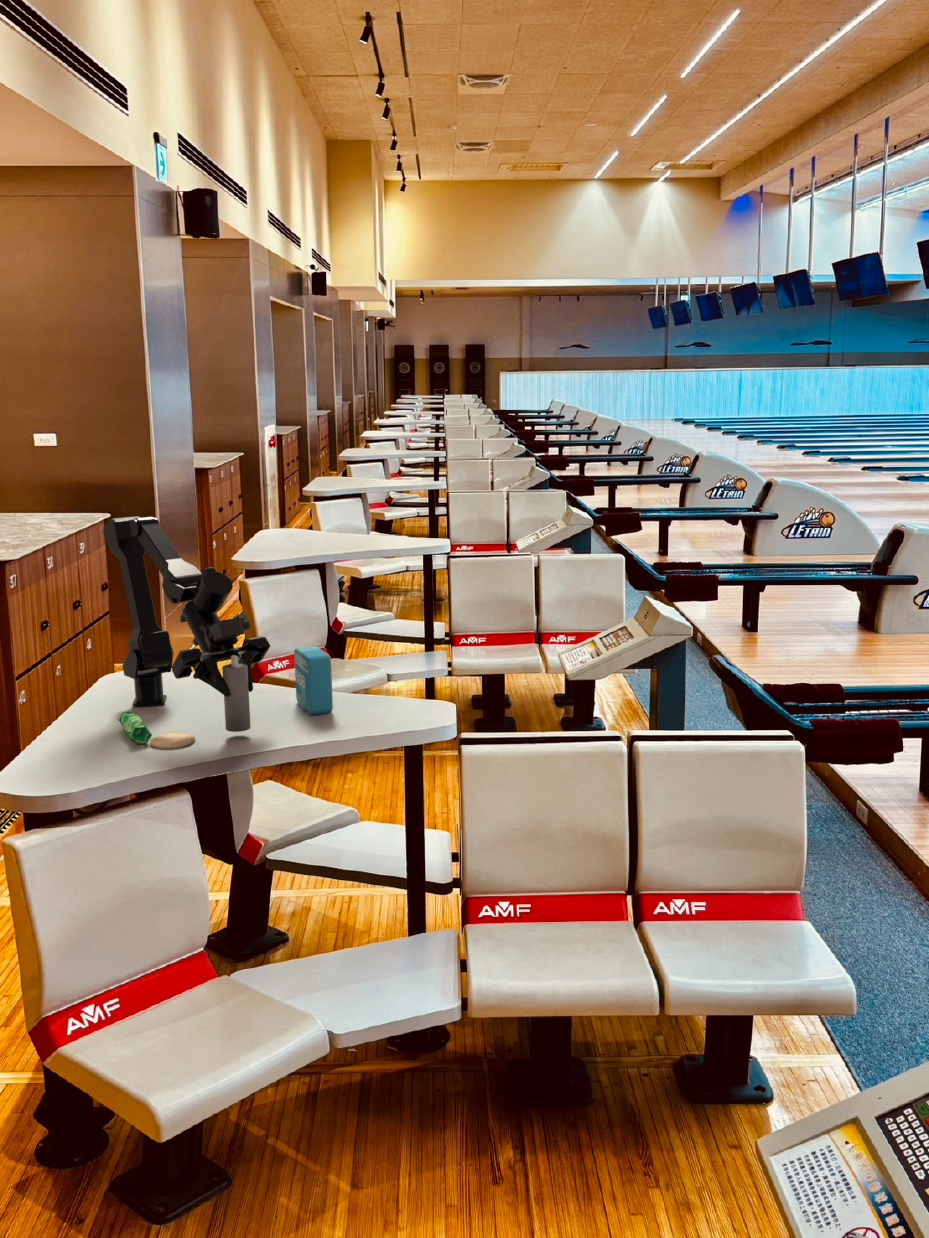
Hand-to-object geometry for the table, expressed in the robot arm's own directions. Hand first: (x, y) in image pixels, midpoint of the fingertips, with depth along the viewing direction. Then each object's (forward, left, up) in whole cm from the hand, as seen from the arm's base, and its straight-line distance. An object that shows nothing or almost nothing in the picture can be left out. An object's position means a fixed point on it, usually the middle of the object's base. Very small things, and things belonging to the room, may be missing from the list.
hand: (240, 693), depth 211 cm
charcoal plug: (-1, -1, -7) cm, 7 cm away
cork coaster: (0, -13, -9) cm, 15 cm away
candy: (-6, -20, -9) cm, 23 cm away
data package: (-18, +14, -9) cm, 25 cm away
